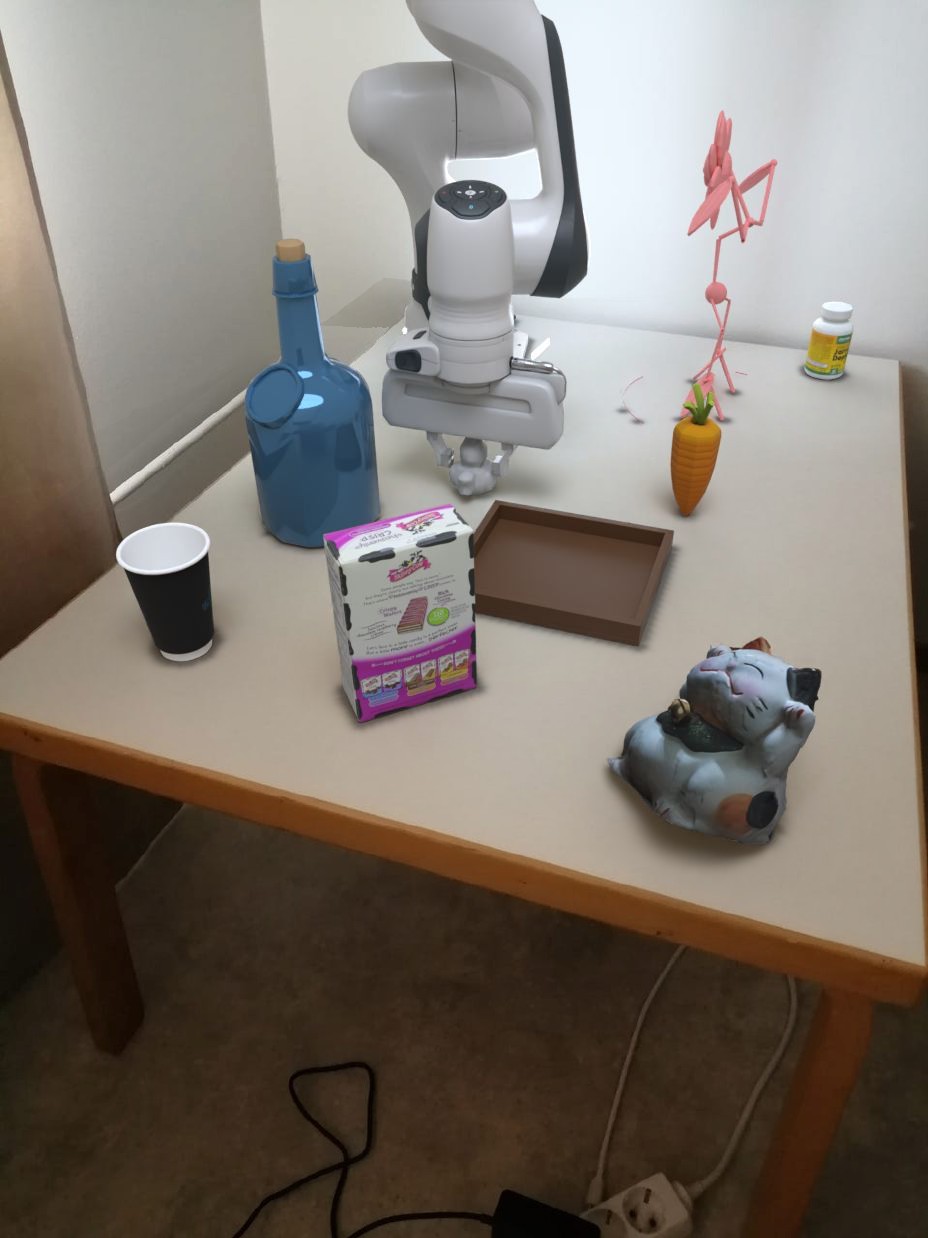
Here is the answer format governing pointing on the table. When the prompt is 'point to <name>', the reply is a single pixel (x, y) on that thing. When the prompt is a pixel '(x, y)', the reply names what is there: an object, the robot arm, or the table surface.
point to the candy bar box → (404, 609)
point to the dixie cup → (172, 586)
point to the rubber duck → (472, 468)
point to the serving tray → (568, 570)
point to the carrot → (694, 452)
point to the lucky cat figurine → (724, 744)
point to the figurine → (723, 235)
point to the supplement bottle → (830, 341)
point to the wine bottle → (309, 421)
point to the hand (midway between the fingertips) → (472, 469)
